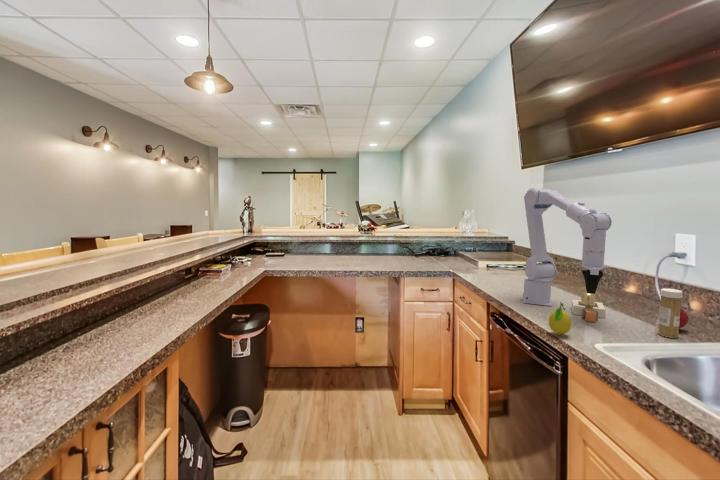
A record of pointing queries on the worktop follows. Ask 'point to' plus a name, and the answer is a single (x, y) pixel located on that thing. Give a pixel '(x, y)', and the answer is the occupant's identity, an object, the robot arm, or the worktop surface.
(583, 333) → the worktop surface
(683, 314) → the onion
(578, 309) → the dock
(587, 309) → the block
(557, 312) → the lemon
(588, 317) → the pin
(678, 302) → the sprinkles bottle
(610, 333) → the worktop surface
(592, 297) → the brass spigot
